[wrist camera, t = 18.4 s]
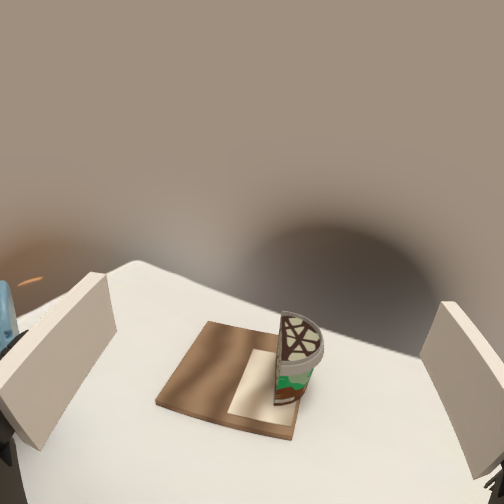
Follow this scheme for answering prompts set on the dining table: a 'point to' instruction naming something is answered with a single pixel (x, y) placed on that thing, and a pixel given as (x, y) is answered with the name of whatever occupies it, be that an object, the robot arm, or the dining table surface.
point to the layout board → (230, 382)
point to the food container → (295, 357)
